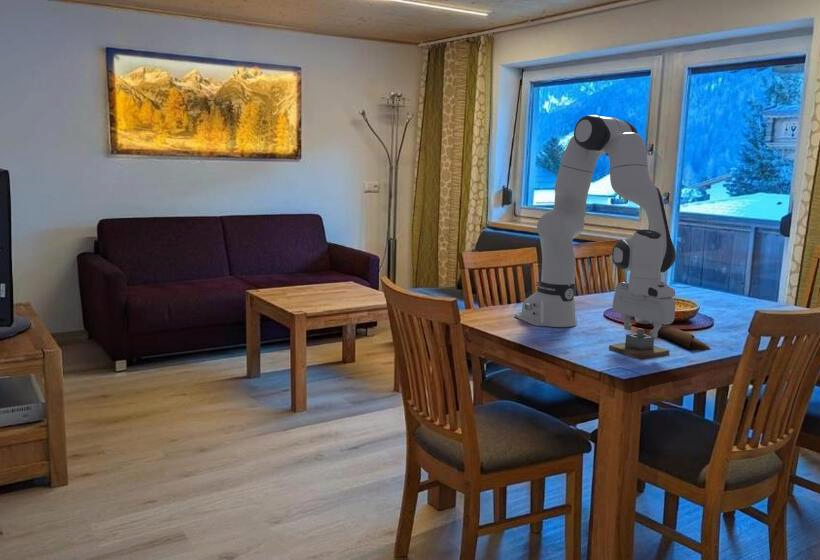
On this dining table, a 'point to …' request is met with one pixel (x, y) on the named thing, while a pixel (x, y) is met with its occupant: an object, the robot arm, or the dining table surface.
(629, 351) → the rod on square base
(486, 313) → the dining table surface
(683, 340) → the brown tapered cylinder
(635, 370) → the dining table surface
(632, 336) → the ring
